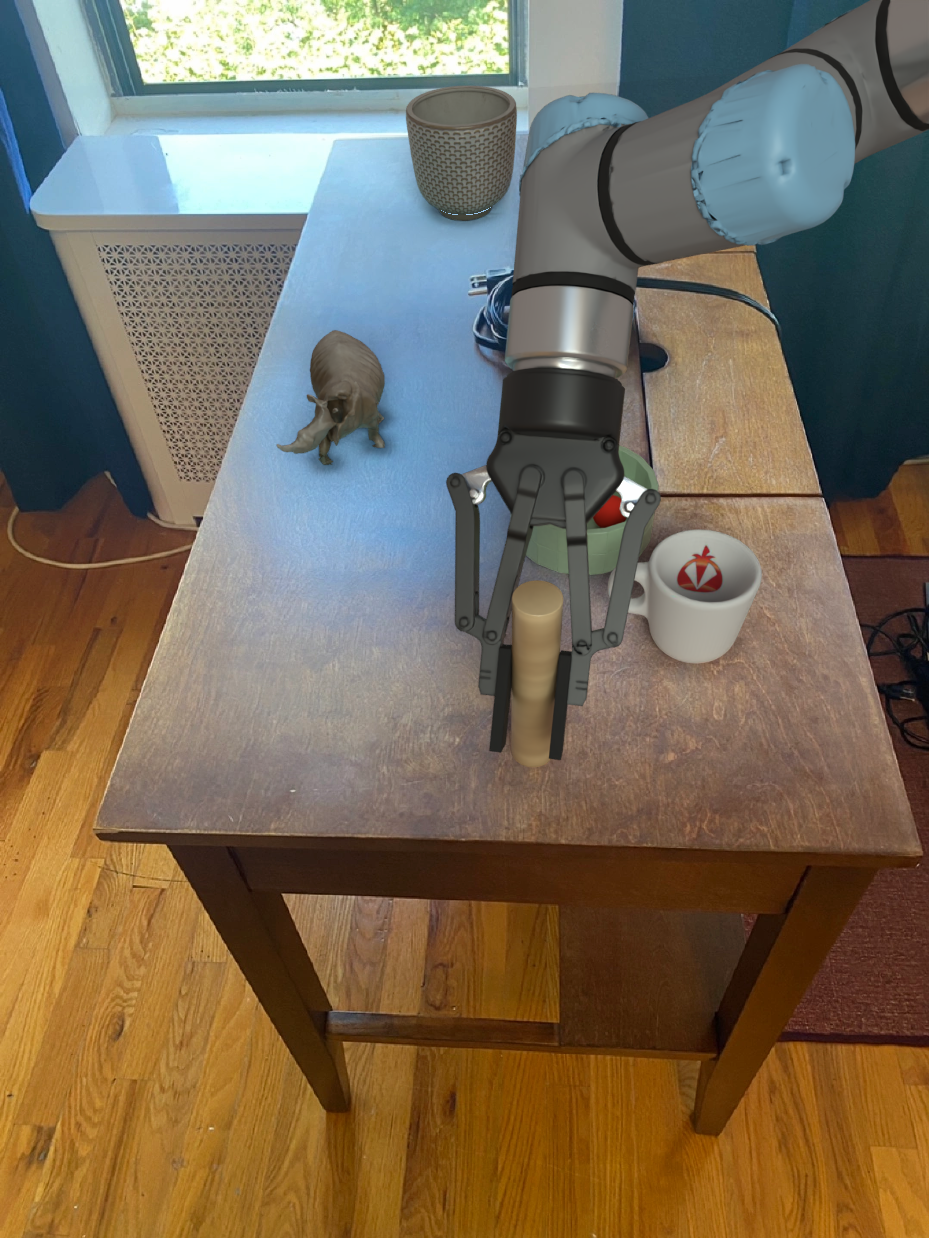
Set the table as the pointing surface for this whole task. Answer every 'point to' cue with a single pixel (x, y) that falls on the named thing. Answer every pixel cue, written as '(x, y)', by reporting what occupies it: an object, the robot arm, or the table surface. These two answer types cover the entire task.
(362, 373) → the grey animal figure
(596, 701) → the table surface
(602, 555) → the bowl
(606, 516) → the cherry tomato
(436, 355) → the table surface
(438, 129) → the planter
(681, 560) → the cup
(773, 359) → the table surface
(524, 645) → the tan wooden cylinder
